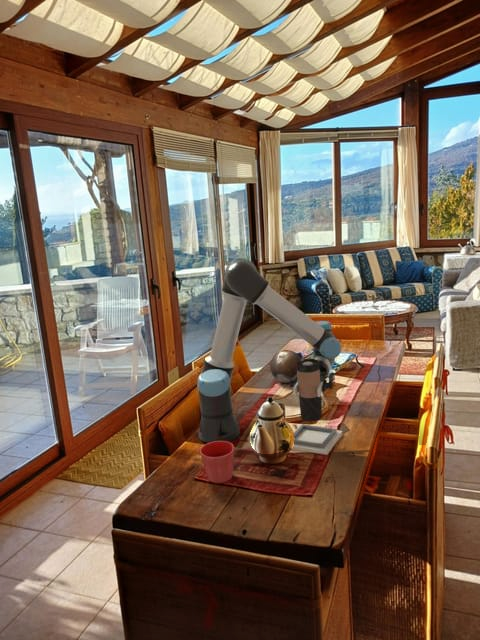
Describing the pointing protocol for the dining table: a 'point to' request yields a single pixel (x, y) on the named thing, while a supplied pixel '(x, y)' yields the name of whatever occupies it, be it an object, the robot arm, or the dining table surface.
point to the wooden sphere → (284, 365)
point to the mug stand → (315, 439)
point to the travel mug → (309, 390)
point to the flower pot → (218, 460)
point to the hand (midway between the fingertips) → (306, 392)
